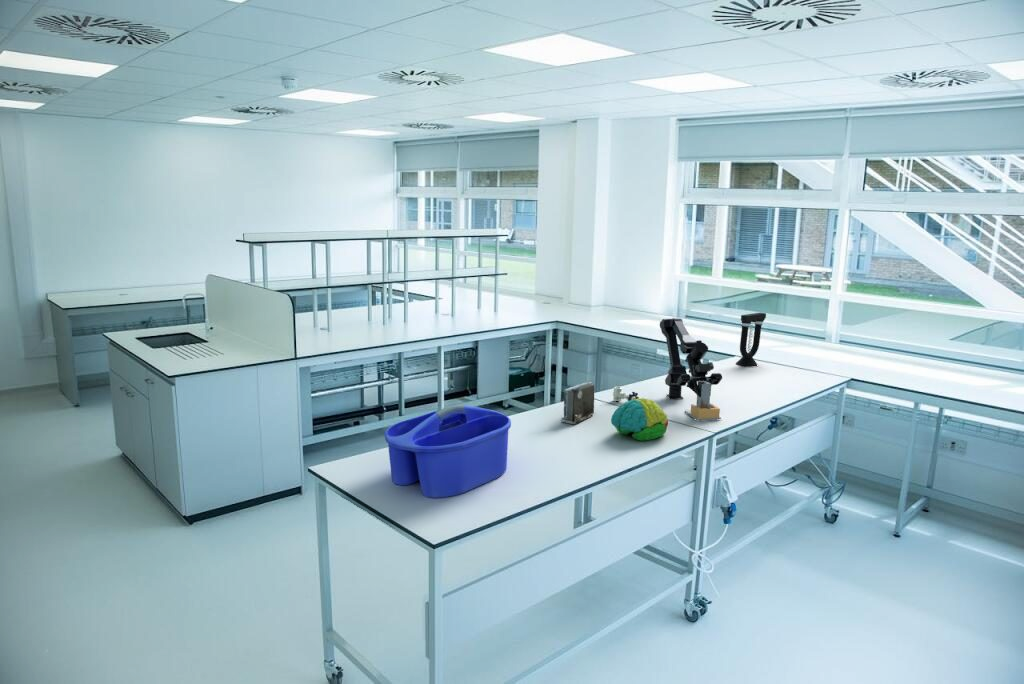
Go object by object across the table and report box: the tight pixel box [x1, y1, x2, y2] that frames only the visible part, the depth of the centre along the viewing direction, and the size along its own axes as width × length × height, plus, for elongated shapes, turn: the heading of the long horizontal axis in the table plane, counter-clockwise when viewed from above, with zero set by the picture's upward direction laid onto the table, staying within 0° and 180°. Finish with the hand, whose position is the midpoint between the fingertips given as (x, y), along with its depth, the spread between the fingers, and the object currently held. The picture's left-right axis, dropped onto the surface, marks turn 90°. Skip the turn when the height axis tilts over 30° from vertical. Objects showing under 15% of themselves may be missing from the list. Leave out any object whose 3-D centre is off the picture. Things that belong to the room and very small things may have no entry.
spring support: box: [735, 312, 767, 367], centre depth 376 cm, size 21×12×30 cm, turn 130°
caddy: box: [384, 404, 512, 499], centre depth 212 cm, size 32×45×23 cm
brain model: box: [610, 397, 669, 442], centre depth 252 cm, size 24×19×15 cm
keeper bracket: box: [684, 403, 722, 421], centre depth 278 cm, size 12×11×7 cm
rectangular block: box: [695, 381, 712, 409], centre depth 278 cm, size 4×4×13 cm
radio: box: [560, 381, 595, 425], centre depth 275 cm, size 23×9×15 cm, turn 142°
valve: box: [612, 386, 640, 402], centre depth 297 cm, size 7×7×12 cm
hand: (704, 396), depth 276 cm, fingers closed on rectangular block, 4 cm apart
